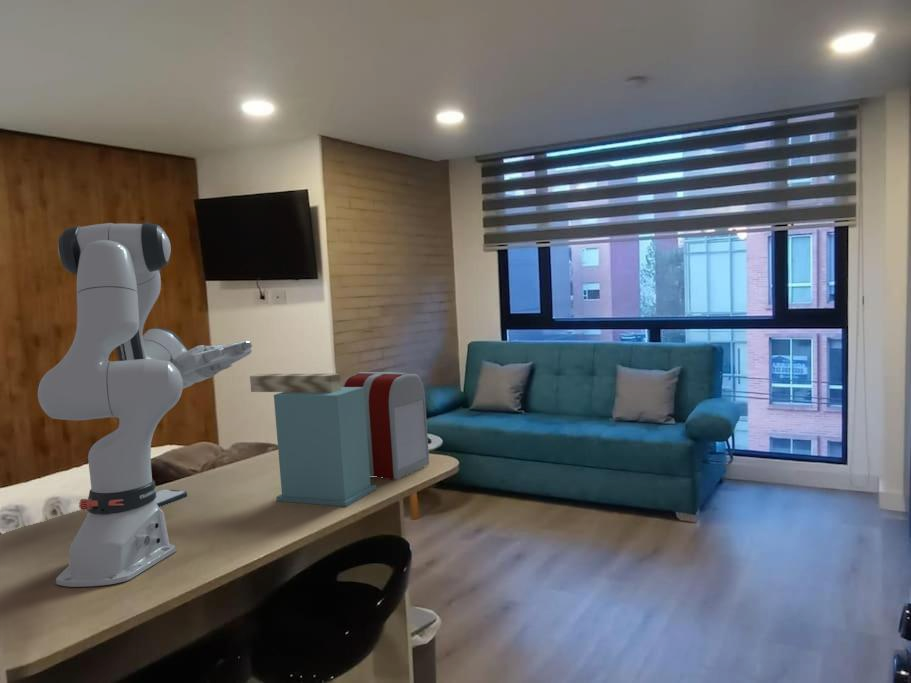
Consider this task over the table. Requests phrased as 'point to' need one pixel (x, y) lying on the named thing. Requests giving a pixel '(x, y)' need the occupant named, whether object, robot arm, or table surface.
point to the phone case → (169, 496)
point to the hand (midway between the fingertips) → (236, 347)
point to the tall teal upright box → (323, 446)
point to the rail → (295, 383)
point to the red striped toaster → (394, 422)
